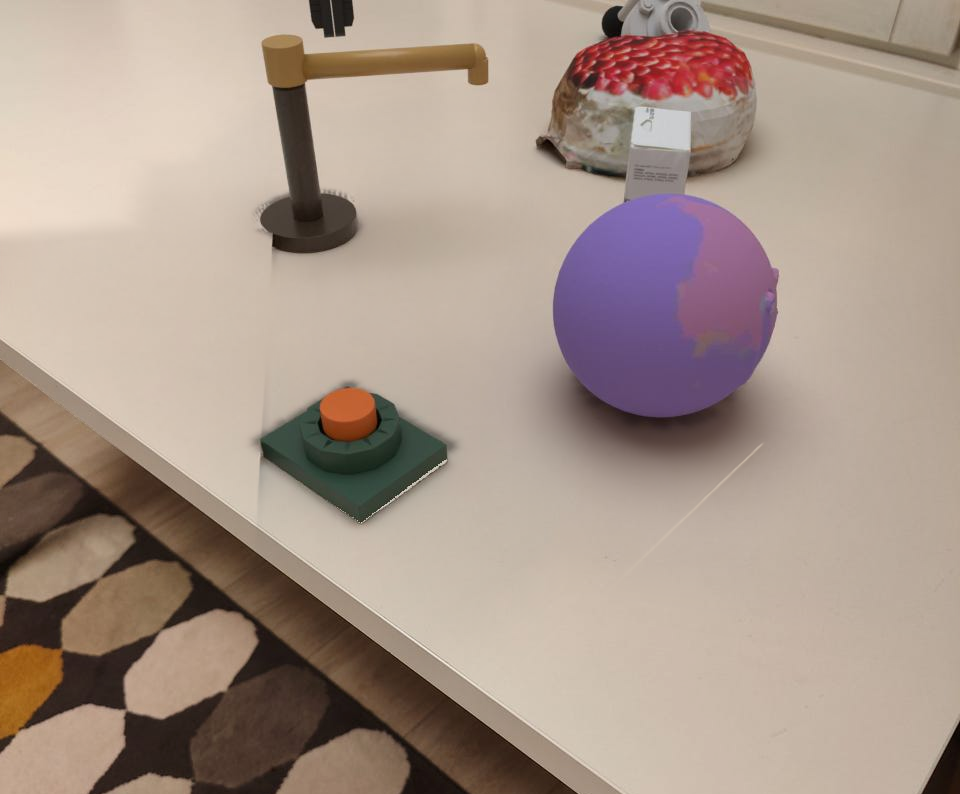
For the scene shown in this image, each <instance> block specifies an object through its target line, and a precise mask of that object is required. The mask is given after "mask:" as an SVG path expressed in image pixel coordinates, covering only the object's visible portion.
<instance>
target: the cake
mask: <svg viewBox="0 0 960 794" xmlns="http://www.w3.org/2000/svg"><path fill="white" fill-rule="evenodd" d="M756 86H757V85H756V81H755V76H754V73H753V68H752V65H751V63H750V60H749V59H748V57H747V55H746V53H745V52H744V51H743V50H742V49H740V48H739V47H737V46H736V45H735V44H734V43H733V42H732V41H730V40H729V39H728V38H727V37H725V36H721V35H718V34H715V33H712V32H710V33H708V32H705V31H692V30H686V31H679V32H677V33H673V34H666V35H661V36H656V37H653V36H636V35H624V36H621V37H612V38H607V39H606V38H605V39H604V40H601V41H599V42H597V43H594V44H592V45H589V46H586V47H585V48H583V49H582V50H581V51H580V50H579V52H577V53H576V55H575V56H574V57H573V58H572V60H571V61H570V64H569V66H568V67H567V69H566V70H565V72H564V73H563V75H562V77H561V79H560V81H559V82H558V84H557V86H556V88H555V89H554V93H553V96H552V99H551V100H552V101H551V111H550V112H551V114H550V115H551V116H550V122H549V125H548V129H547V130H548V133H547V134H546V135H545V134H540V135H539V136H538V137H537V138H536V139H535V145H536V148H539V147H540V146H541V145H542V144H543V143H544V142H545V141H546V140H549V141H550V142H551V143H552V144H553V146H554V147H555V148H556V149H557V150H558V152H559V153H560V154H561V155H562V156H563V157H564V158H565V160H566V163H565V168H566V169H567V168H568V169H569V168H570V169H572V168H574V169H579V170H582V171H585V172H586V173H591V174H593V175H599V176H605V177H612V178H621V179H626V175H627V167H628V158H629V150H630V142H631V134H632V127H633V120H634V113H635V108H636V107H641V106H642V107H650V108H658V109H667V110H677V111H690V112H691V153H690V159H689V166H688V173H687V178H690V177H691V178H692V177H695V176H700V175H704V174H709V173H713V172H716V171H720V170H722V169H724V168H726V167H729V166H730V165H732V164H733V163H734V162H736V161H737V159H738V158H739V155H740V154H741V152H742V150H743V148H744V146H745V143H746V142H747V140H748V139H749V136H750V134H751V132H752V130H753V126H754V125H755V120H756V114H757V107H758V106H757V105H758V104H757V103H758V97H757V88H756Z"/></svg>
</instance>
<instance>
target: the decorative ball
mask: <svg viewBox="0 0 960 794" xmlns="http://www.w3.org/2000/svg"><path fill="white" fill-rule="evenodd" d="M779 273H780V269H778V268H776V267H773V266H772V264H771V262H770V258H769V257H768V255H767V252H766V251H765V248H764V247H763V245H762V244H761V242H760V240H759V239H758V237H757V236H756V235H755V234H754V232H753V231H752V230H751V229H750V228H749V227H748V226H747V225H746V223H744V222H743V220H741V219H740V218H738V217H737V216H736V215H735V214H733V213H732V212H730V211H729V210H727V209H726V208H724V207H722V206H720V205H719V204H717V203H715V202H712V201H710V200H707V199H704V198H702V197H698V196H694V195H689V194H684V195H683V194H655V195H648V196H643V197H639V198H636V199H633V200H630V201H627V202H625V203H624V202H623V203H620V204H619V205H616V206H614V207H612V208H610V209H609V210H607V211H606V212H604V213H602V215H600V216H599V217H597V218H596V219H595V220H594V221H592V222H591V223H589V225H588V226H587V227H586V228H585V229H584V230H583V232H581V233H580V234H579V236H578V237H577V238H576V240H575V241H574V242H573V244H572V245H571V247H570V248H569V250H568V251H567V254H566V256H565V257H564V259H563V262H562V264H561V267H560V269H559V270H558V274H557V279H556V280H555V281H556V282H555V286H554V291H553V298H552V321H553V328H554V333H555V337H556V340H557V344H558V347H559V349H560V353H561V354H562V356H563V357H562V358H564V360H565V362H566V364H567V366H568V368H569V369H570V371H571V372H572V373H573V375H574V376H575V377H576V379H577V380H578V381H579V382H580V383H581V384H582V385H583V387H585V388H586V389H587V390H588V391H589V392H590V393H591V394H593V396H595V397H596V398H598V399H600V400H601V401H603V402H604V403H605V404H607V405H609V406H611V407H613V408H616V409H618V410H620V411H623V412H626V413H629V414H631V415H632V414H633V415H636V416H642V417H648V418H675V417H682V416H686V415H690V414H693V413H697V412H700V411H703V410H705V409H707V408H709V407H712V406H713V405H716V404H717V403H719V402H721V401H723V400H724V399H726V398H728V396H730V395H731V394H733V393H735V391H736V390H738V389H739V388H740V387H742V386H744V385H745V384H747V382H749V380H750V378H751V377H752V375H754V372H755V370H756V369H757V367H758V366H759V365H760V362H761V361H762V359H763V357H764V356H765V353H766V351H767V349H768V347H769V346H770V343H771V339H772V337H773V333H774V329H775V327H776V322H777V318H778V314H779V311H778V291H777V288H778V287H777V286H778V282H779V277H780V274H779Z"/></svg>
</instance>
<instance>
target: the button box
mask: <svg viewBox="0 0 960 794" xmlns="http://www.w3.org/2000/svg"><path fill="white" fill-rule="evenodd" d="M345 388H351V386H349V385H347V386H345V387H343V388H342V389H345ZM368 393H369V394H371V395H372V397H373V398H374V400H375V407H376V416H377V426H376V428H375V430H374V431H373V432H372V433H371V434H370V435H369V436H367V437H365V438H363V439H360V440H355V441H350V442H344V441H337V440H334V439H332V438H330V437H329V436H327V435H326V433H325V432H324V430H323V425H322V419H321V413H320V404H321V402H322V400H323V399H324V398H325V397H322V399H321V398H320V399H319V400H318V401H316V402H315V403H313V404H311V405H310V406H309V407H307V409H306V410H305V411H303V412H302V413H300V414H299V415H297V416H296V417H294V418H293V419H290V420H289V421H287V422H285V423H283V424H282V425H280V426H279V427H277V428H276V429H274V430H273V431H271V432H269V433H268V434H266V435H264V436H262V437H261V438H260V439H259V442H260V446H261V450H262V455H263V458H265V459H267V460H268V461H269V462H270V463H272V464H273V465H275V466H276V467H278V468H279V469H281V470H282V471H283V472H285V473H286V474H288V475H289V476H291V477H292V478H294V479H295V480H296V481H298V482H299V481H300V482H299V483H301V484H302V483H303V484H302V485H304V486H305V487H306V486H307V487H306V488H308V489H309V490H311V491H312V492H313V493H315V494H316V495H318V496H319V495H320V496H319V497H320V498H322V497H323V498H322V499H323V500H325V501H327V500H328V501H327V502H328V503H329V502H330V505H332V504H333V505H332V506H334V507H335V506H336V507H335V508H337V507H338V508H339V509H341V510H342V511H344V512H346V513H347V514H349V517H350V516H351V517H354V519H356V520H358V522H360V523H361V522H363V521H364V520H366V518H368V517H369V516H371V515H372V513H374V512H376V511H377V510H378V509H380V508H381V507H382V506H384V505H385V504H387V503H388V502H390V500H392V499H393V498H395V496H397V495H399V494H400V493H401V492H402V491H404V490H405V489H407V487H408V486H410V485H412V483H414V482H416V481H417V480H419V478H421V477H422V476H423V475H425V474H426V473H428V471H430V470H432V469H433V468H434V467H436V466H438V464H440V463H442V461H444V460H446V459H447V460H448V449H447V448H448V445H447V444H446V443H445V442H443V441H441V440H440V439H438V438H437V437H435V436H434V435H431V434H430V433H428V432H426V431H425V430H423V429H421V428H419V427H418V426H416V425H415V424H413V423H411V422H410V421H408V420H406V419H404V418H403V417H401V416H400V414H399V412H398V410H397V407H396V405H395V404H394V403H393V402H392V401H390V400H388V399H386V398H385V397H383V396H382V395H380V394H378V393H374V392H368ZM338 508H337V509H338ZM339 509H338V510H339ZM341 510H340V511H341ZM342 511H341V512H342ZM344 512H343V513H344ZM347 514H346V515H347ZM351 517H350V518H351ZM354 519H353V520H354ZM358 522H357V523H358ZM360 523H359V524H360Z"/></svg>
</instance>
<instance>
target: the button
mask: <svg viewBox="0 0 960 794" xmlns="http://www.w3.org/2000/svg"><path fill="white" fill-rule="evenodd" d="M344 388H345V387H344ZM369 393H370V392H368V391H366V390H364V389H361V388H357V387H350V388H345V389H343V388H340V389H337V390H333V391H332V392H330V393H328V394H327V395H326V396H324V397H323V398H324V399H323V398H322V399H323V400H322V402H321V404H320V413H321V419H322V425H323V430H324V432H325V433H326V435H327V436H329V437H330V438H332V439H334V440H337V441H344V442H350V441H355V440H360V439H363V438H365V437H367V436H369V435H370V434H371V433H372V432H373V431H374V430H375V428H376V426H377V416H376V407H375V400H374V398H373V397H372V395H371V394H369Z"/></svg>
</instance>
